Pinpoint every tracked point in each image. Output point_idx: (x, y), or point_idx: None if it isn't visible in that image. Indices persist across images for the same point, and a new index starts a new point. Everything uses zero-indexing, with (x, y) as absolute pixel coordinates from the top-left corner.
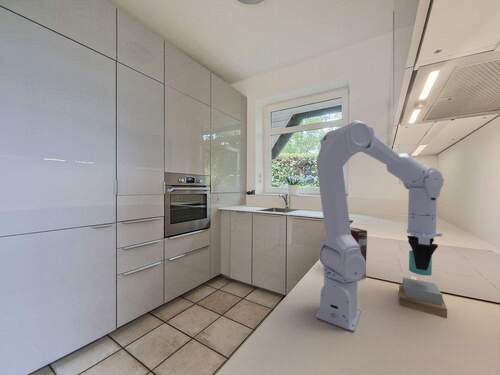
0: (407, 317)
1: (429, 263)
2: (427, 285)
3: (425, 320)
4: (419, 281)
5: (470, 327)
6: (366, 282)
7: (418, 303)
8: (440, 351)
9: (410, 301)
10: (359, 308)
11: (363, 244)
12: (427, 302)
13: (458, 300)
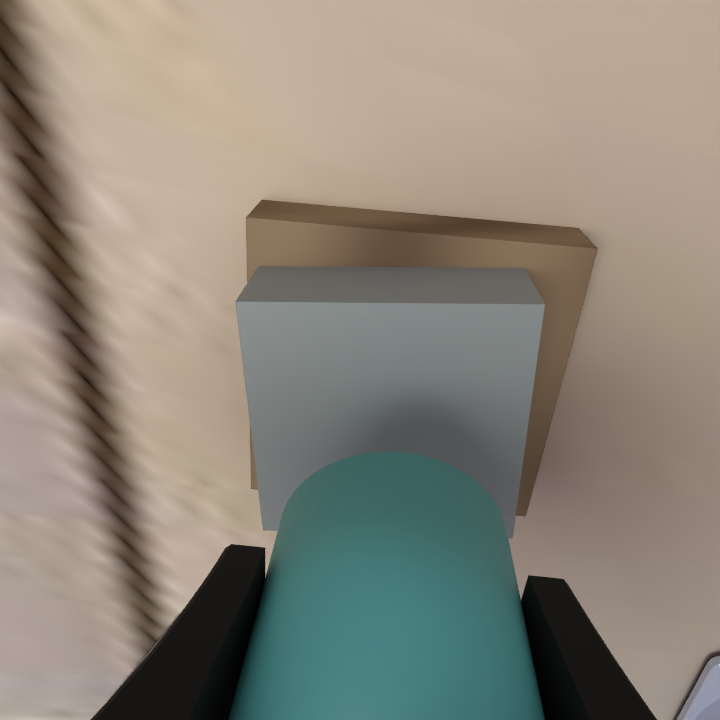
0: (687, 461)
1: (504, 623)
2: (351, 378)
3: (686, 373)
4: (279, 423)
5: (673, 97)
6: None
7: (551, 413)
8: None
9: (540, 455)
10: (717, 667)
11: None
12: None
13: (131, 29)
